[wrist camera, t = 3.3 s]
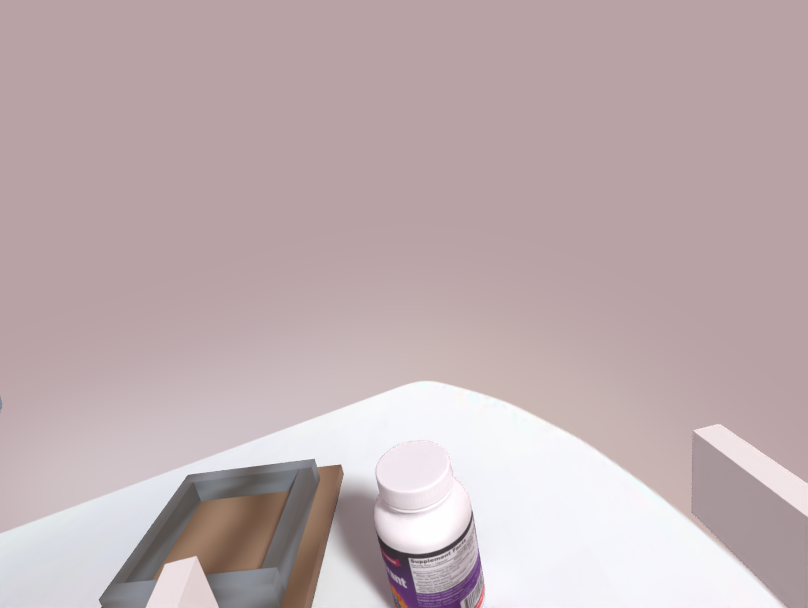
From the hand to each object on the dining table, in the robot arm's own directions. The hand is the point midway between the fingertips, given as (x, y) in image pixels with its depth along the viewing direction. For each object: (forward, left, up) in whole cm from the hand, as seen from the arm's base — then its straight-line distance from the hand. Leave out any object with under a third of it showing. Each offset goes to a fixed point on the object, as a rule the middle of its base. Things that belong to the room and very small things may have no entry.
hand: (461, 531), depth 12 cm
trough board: (-18, +15, -16) cm, 28 cm away
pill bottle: (-3, +10, -16) cm, 19 cm away
